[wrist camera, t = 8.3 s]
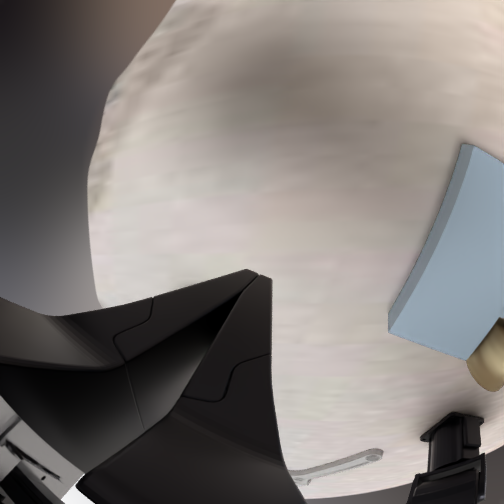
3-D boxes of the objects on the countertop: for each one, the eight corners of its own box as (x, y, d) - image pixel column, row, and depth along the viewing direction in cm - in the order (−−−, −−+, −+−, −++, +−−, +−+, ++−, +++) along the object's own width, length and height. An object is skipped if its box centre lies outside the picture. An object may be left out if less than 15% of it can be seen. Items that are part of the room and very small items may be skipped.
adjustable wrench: (375, 443, 28) (374, 454, 26) (399, 456, 28) (398, 466, 26) (269, 469, 42) (266, 476, 40) (293, 481, 41) (290, 488, 40)
